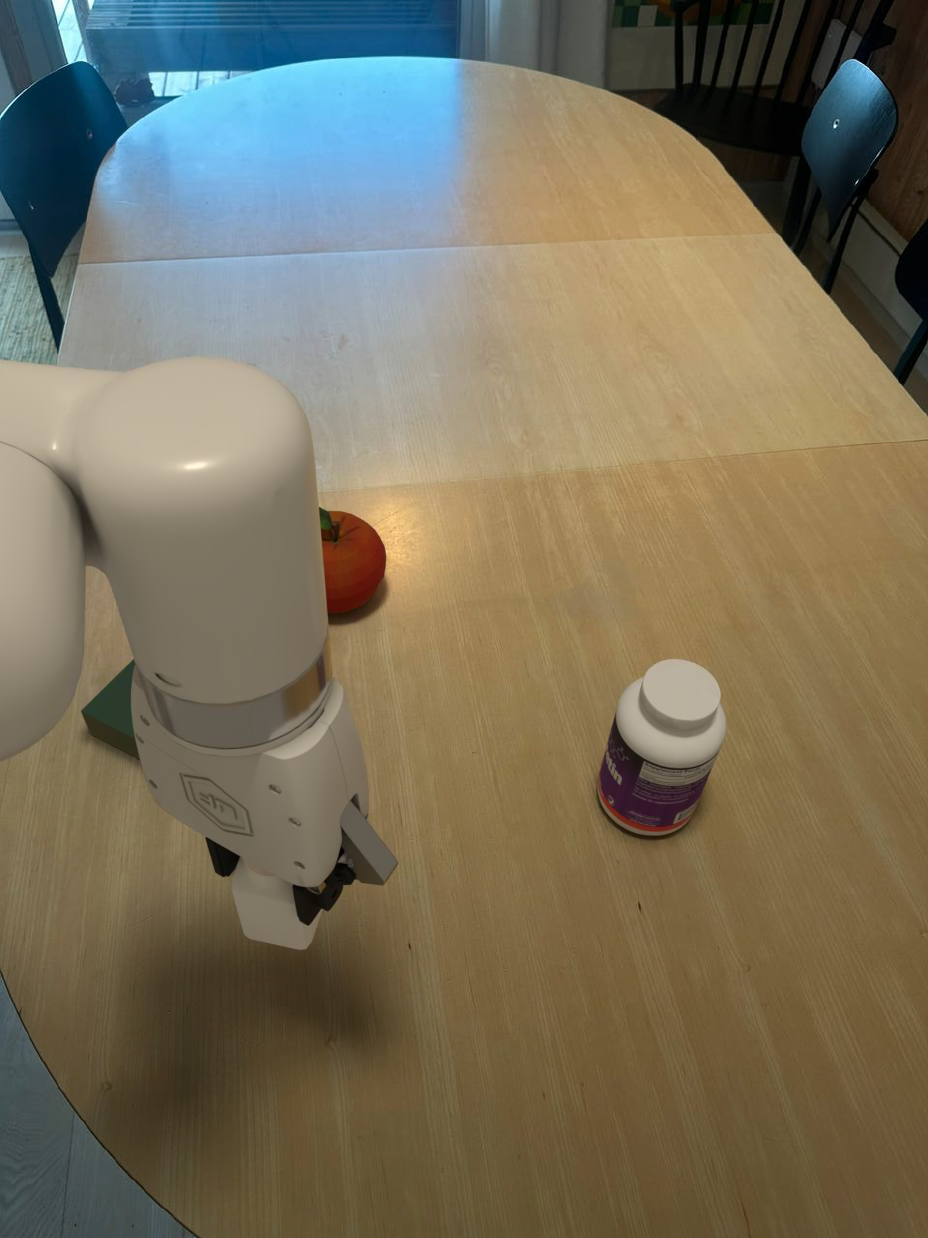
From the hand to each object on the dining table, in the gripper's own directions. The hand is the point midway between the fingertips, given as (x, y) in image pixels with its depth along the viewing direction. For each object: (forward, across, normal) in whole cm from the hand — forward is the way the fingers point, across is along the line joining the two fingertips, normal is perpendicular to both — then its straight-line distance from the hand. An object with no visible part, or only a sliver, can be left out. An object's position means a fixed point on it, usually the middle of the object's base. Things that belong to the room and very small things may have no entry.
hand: (278, 876), depth 52 cm
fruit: (+19, -20, +34) cm, 44 cm away
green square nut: (+19, -24, +16) cm, 34 cm away
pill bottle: (+19, +14, +28) cm, 36 cm away
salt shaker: (+5, 0, 0) cm, 5 cm away
